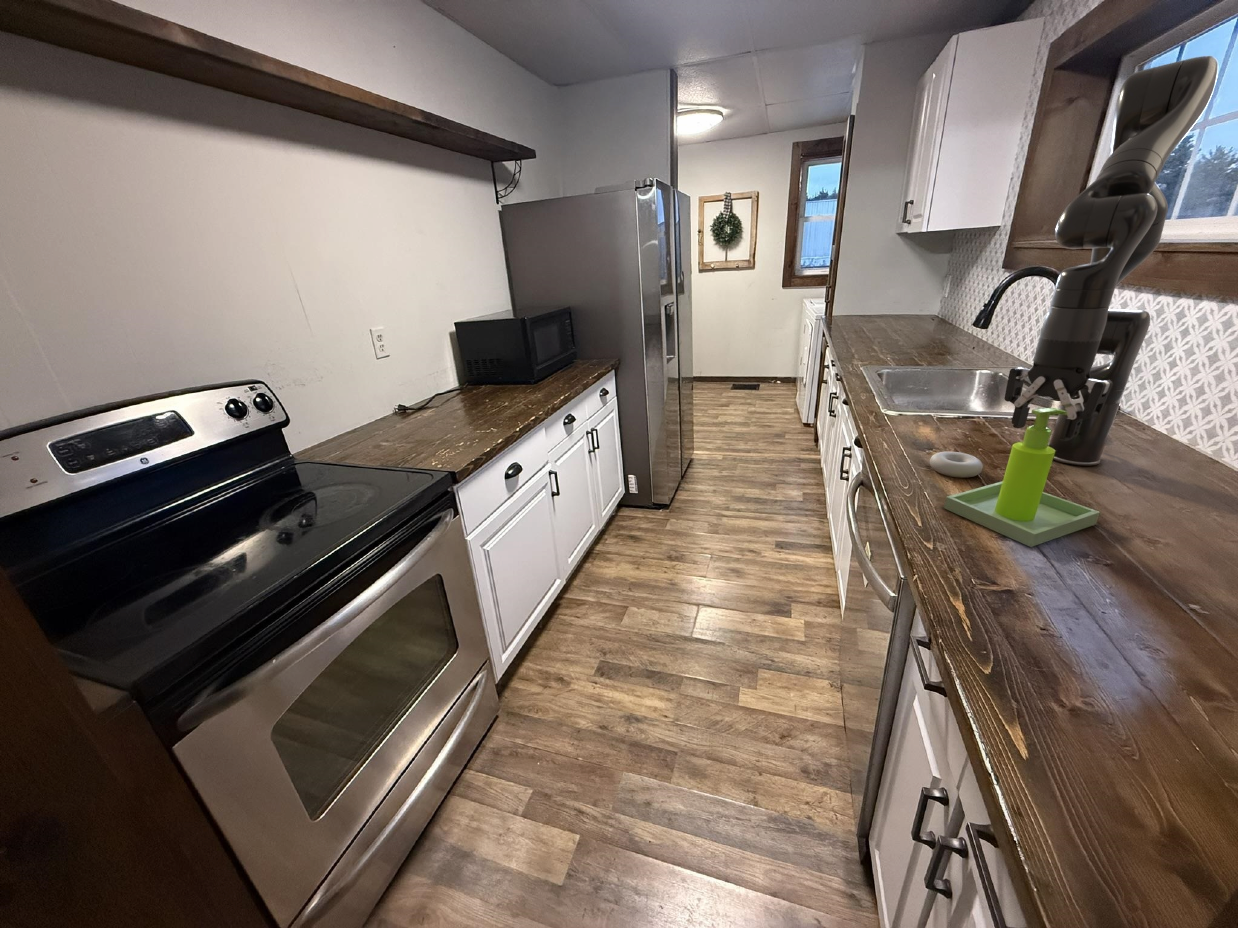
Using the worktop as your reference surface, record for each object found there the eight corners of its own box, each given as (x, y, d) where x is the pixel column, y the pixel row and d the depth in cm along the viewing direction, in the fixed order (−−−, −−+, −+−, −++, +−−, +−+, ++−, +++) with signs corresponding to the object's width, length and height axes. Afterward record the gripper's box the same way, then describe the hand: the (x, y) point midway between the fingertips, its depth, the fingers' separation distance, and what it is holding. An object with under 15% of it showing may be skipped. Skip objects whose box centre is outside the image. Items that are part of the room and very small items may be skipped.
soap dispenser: (1048, 520, 89) (1083, 413, 82) (1009, 521, 89) (1040, 415, 82) (1024, 505, 95) (1054, 404, 87) (987, 506, 95) (1014, 405, 87)
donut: (937, 479, 108) (989, 480, 106) (940, 465, 107) (993, 466, 105) (921, 462, 117) (969, 463, 115) (924, 448, 116) (972, 449, 114)
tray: (1005, 490, 102) (1008, 479, 101) (1096, 524, 88) (1100, 511, 87) (943, 508, 96) (946, 496, 95) (1030, 547, 83) (1034, 534, 82)
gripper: (1140, 339, 75) (1104, 442, 81) (1036, 329, 87) (1012, 419, 93) (1110, 343, 72) (1075, 450, 79) (1007, 333, 85) (984, 425, 91)
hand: (1041, 433), depth 86 cm, fingers open, 7 cm apart
